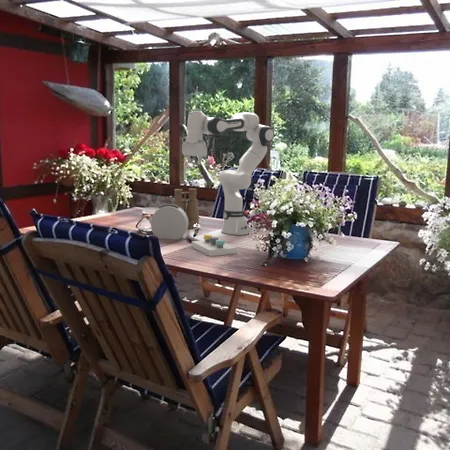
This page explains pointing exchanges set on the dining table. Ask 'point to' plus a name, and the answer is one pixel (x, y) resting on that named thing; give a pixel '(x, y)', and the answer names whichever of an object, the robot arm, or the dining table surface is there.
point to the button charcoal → (213, 240)
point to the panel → (213, 248)
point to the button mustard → (207, 237)
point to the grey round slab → (169, 222)
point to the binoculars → (188, 205)
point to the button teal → (220, 243)
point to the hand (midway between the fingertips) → (194, 163)
